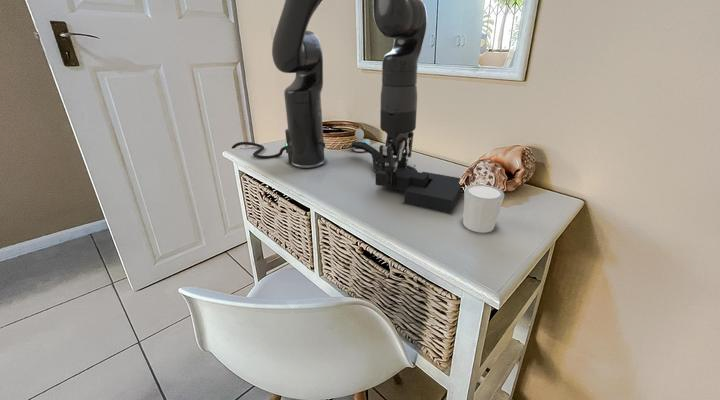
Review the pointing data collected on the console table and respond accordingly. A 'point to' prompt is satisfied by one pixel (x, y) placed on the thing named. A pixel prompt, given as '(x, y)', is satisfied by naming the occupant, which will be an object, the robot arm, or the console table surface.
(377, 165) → the hairbrush
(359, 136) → the pacifier
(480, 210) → the white cylinder
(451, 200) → the notch pad
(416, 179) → the pad
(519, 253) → the console table surface
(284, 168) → the console table surface
